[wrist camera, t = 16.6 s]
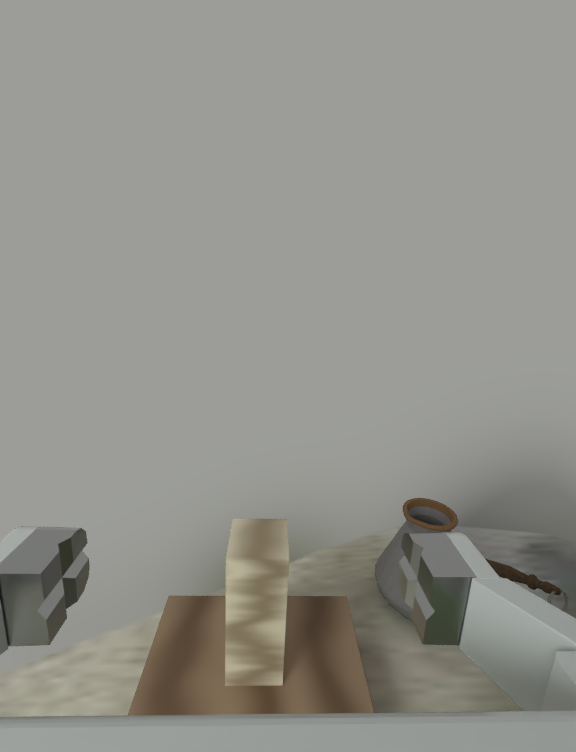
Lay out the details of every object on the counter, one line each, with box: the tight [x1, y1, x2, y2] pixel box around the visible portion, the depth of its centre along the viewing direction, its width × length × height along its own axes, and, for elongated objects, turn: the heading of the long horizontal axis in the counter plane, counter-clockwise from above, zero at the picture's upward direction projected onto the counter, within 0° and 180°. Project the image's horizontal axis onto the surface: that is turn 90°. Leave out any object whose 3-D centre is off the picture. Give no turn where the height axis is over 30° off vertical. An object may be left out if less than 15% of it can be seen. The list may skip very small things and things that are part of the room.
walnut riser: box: [128, 596, 374, 716], centre depth 34 cm, size 20×14×5 cm
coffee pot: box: [375, 498, 568, 620], centre depth 41 cm, size 21×12×15 cm, turn 21°
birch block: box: [225, 519, 289, 686], centre depth 32 cm, size 5×5×13 cm
